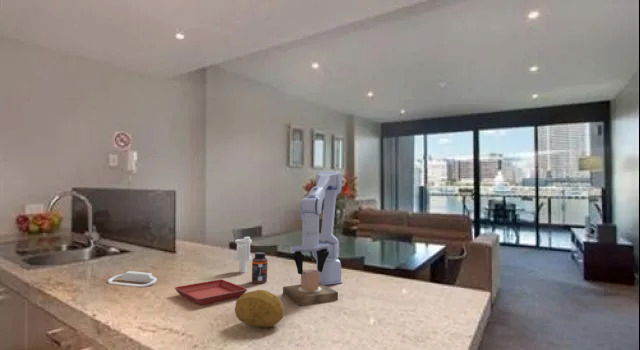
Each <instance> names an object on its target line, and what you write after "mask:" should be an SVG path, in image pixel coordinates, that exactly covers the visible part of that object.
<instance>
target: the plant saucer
mask: <svg viewBox="0 0 640 350" xmlns="http://www.w3.org/2000/svg"><path fill="white" fill-rule="evenodd" d="M174 289H175V291H176V292H177V293H178V295H180V296H181V297H182V298H184V299H186V300H188V301H190V302H192V303H194V304H195V305H198V306H199V307H203V306H207V305H208V306H209V305H212V304H216V303H221V302H225V301H230V300H234V299H235V300H236V299H238V298H239V297H240V296H241V295H243V294H245V293H247V292H248V288H246V287H243V286H242V285H238V284H236V283H233V282H229V281H227V280H224V279H215V280H210V281H205V282H204V281H203V282H198V283H191V284H185V285H179V286H175V287H174Z"/></svg>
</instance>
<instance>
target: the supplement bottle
mask: <svg viewBox="0 0 640 350" xmlns="http://www.w3.org/2000/svg"><path fill="white" fill-rule="evenodd" d="M251 260H252V261H251V263H252V264H251V266H252V268H251V282H252V283H254V284H265V283H266V282H267V281H268V258H267V257H266V253H265V252H262V251H258V252H257V251H256V252H255V253H254V258H252V259H251Z"/></svg>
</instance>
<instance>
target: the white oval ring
mask: <svg viewBox="0 0 640 350" xmlns="http://www.w3.org/2000/svg"><path fill="white" fill-rule="evenodd" d="M119 278H122V280H123V281H128V282H117V281H114V280H117V279H119ZM157 281H158V279H157V277H156V276H153V273H152V272H142V271H141V272H140V271H133V270H132V271H131V270H128V271H126V272H123V273H120V274H116V275H114V276H112V277H110V278H108V280H107V284H109V285H115V286H122V287H123V286H124V287H131V288H132V287H134V288H148V287H151V286H153V285H154V284H155V283H156V282H157ZM129 282H136V283H137V282H139V283H144V284H139V283H138V284H136V283H129Z"/></svg>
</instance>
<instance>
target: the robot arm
mask: <svg viewBox="0 0 640 350" xmlns="http://www.w3.org/2000/svg"><path fill="white" fill-rule="evenodd" d="M342 186H343V175H342V172H341V171H340V170H339V171H320V170H318V171H317V172H316V175H315V186H313V187H311V189H310V191H309V192H308V194H307V195H306V197H304V198H303V199H301V200H300V204H299V205H300V206H299V212H300V219H301V220H302V223H301V226H302V228H301V229H302V231H301V236H302V238H301V241H302V242H301V244H300V245H294V246H289V253H291V256H292V258H293V260H294V262H295V263H294V264H295V266H296V269H297V274H299V275H301V274H302V272H303V270H304V269H303V266H304V265H303V264H304V257H305V255H304V254H303V253H307V252H311V253H312V256H313V258H314V259H315V260H314V261H316V271H318V272H319V283H321V284H323V285H325V286H328V285H336V284H342V283H343V281H342V264H341V260H340V259H339V255H340V240H339V238H337V237H336V236H335V235H334V227H335V226H334V224H335V223H334V222H335V212H336V202H337V201H336V200H337V196H338V195H339V194H341V192H342ZM322 209H323V210H322ZM322 211H323V212H322ZM321 213H322V221H321V231H320V215H321Z"/></svg>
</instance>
